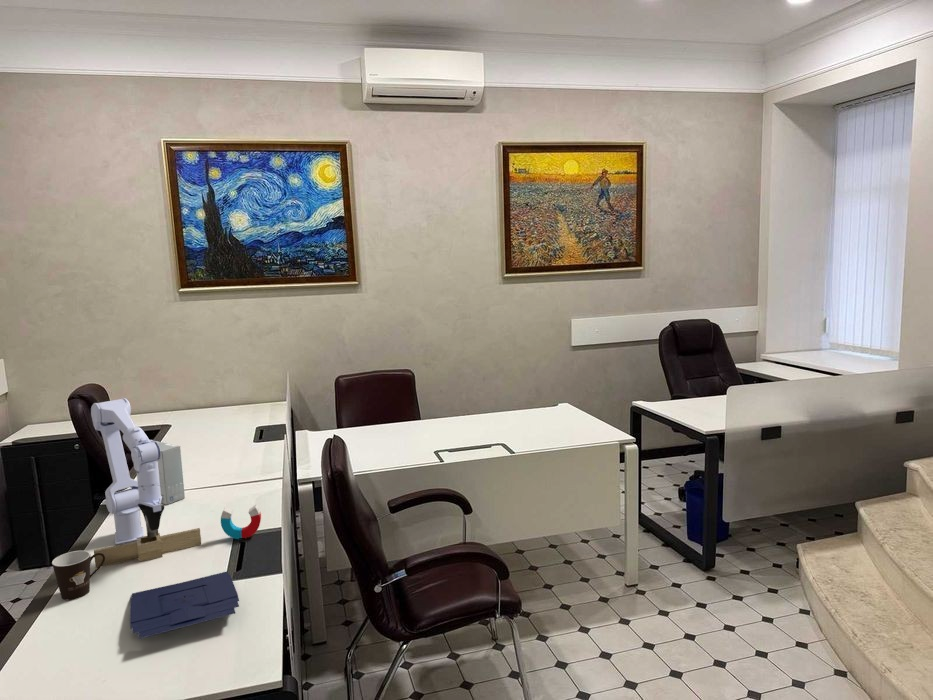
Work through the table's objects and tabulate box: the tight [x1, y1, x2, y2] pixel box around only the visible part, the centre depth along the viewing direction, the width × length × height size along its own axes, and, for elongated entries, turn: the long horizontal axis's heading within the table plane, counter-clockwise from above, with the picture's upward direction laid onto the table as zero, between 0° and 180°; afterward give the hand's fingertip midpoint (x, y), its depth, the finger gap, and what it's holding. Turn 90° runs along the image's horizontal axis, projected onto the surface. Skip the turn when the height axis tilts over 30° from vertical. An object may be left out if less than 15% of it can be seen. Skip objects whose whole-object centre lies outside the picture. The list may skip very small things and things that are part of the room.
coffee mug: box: [51, 550, 105, 601], centre depth 168 cm, size 12×9×10 cm
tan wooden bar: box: [93, 527, 202, 569], centre depth 189 cm, size 6×28×5 cm, turn 119°
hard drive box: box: [155, 440, 186, 506], centre depth 232 cm, size 16×8×20 cm, turn 58°
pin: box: [144, 515, 159, 537], centre depth 187 cm, size 3×3×7 cm
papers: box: [129, 570, 240, 640], centre depth 159 cm, size 24×30×4 cm
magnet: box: [220, 504, 262, 540], centre depth 199 cm, size 12×3×10 cm, turn 102°
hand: (153, 527), depth 188 cm, fingers closed on pin, 3 cm apart
